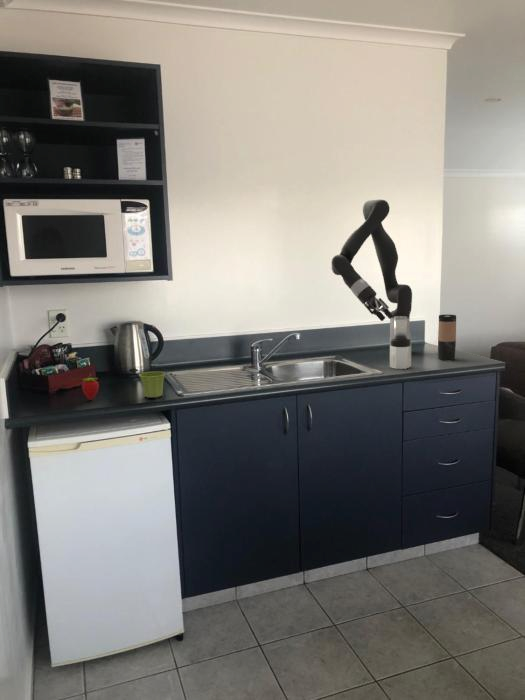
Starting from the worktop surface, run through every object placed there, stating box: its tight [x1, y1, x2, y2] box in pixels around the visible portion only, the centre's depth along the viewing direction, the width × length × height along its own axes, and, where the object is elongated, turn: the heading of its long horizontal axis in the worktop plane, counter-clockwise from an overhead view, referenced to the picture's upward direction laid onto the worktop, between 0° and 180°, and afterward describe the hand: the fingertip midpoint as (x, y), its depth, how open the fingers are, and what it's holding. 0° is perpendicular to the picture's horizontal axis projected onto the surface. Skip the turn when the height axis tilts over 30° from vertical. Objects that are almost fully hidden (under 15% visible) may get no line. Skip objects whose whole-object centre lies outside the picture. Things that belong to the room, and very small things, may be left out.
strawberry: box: [81, 373, 100, 400], centre depth 201 cm, size 6×8×10 cm
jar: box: [389, 339, 412, 370], centre depth 241 cm, size 9×8×12 cm
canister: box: [394, 316, 407, 341], centre depth 239 cm, size 5×5×10 cm
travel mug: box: [437, 314, 457, 361], centre depth 254 cm, size 8×8×20 cm
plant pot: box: [138, 370, 167, 398], centre depth 203 cm, size 9×9×9 cm
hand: (387, 318), depth 241 cm, fingers open, 8 cm apart
